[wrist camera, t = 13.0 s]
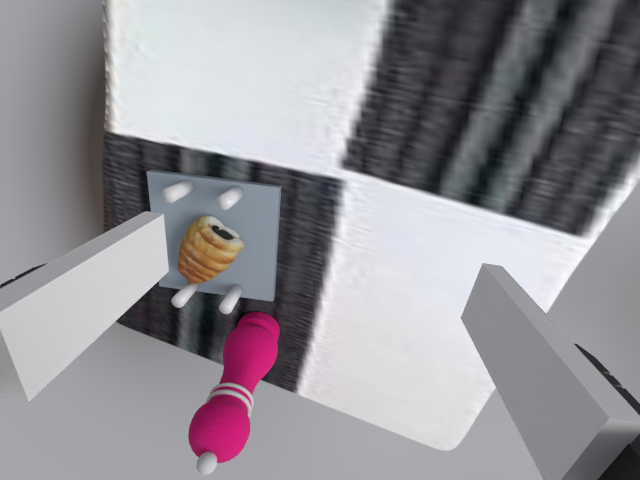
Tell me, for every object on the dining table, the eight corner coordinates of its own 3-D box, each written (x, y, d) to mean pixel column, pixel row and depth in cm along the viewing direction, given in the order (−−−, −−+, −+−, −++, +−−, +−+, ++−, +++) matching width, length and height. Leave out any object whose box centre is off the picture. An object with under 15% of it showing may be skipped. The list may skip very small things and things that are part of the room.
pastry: (213, 287, 42) (201, 303, 39) (170, 259, 41) (154, 273, 38) (250, 239, 39) (240, 251, 36) (204, 206, 38) (190, 216, 34)
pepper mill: (279, 307, 44) (233, 446, 26) (286, 347, 47) (249, 498, 29) (230, 309, 45) (153, 446, 27) (240, 348, 48) (176, 496, 29)
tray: (152, 169, 38) (121, 178, 32) (281, 185, 37) (271, 197, 32) (163, 281, 44) (139, 304, 39) (274, 296, 44) (265, 321, 38)
